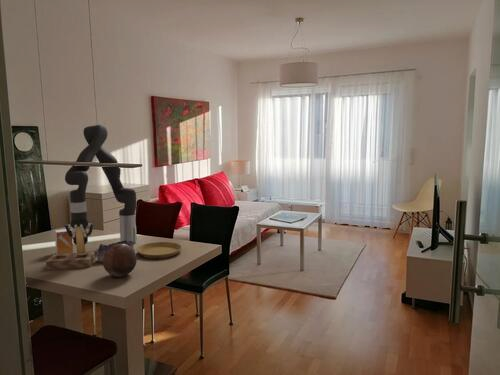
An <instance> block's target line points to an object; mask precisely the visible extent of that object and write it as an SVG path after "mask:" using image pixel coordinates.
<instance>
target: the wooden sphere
mask: <svg viewBox="0 0 500 375" xmlns="http://www.w3.org/2000/svg"><path fill="white" fill-rule="evenodd" d="M136 253H137V252H136V251H134V250H133V249H132V248H131V247H130V246H128V245H125V244H116V245H113V246H111V247H110V248H109V249H107V251H106V252H105V254H104V256H103V262H102V266H103V268H104V270H105V271H106V272H107V274H109V275H111V276H112V277H117V278H118V277H119V278H120V277H124V276H127V275H129V274H130V273H132V271H133V270H134V269H135V267H136V265H137V260H138V259H137V254H136Z"/></svg>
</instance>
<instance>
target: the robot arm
mask: <svg viewBox="0 0 500 375" xmlns="http://www.w3.org/2000/svg"><path fill="white" fill-rule="evenodd" d="M83 137H84V139H85V141H86V143H87V144H88V145H87V146H86V147H85V148H84V149H82V150H81V151H80V153H79V154H78V157H77V159H76V160H75V163H76V162H92V163H93V162H94V158H95V157H96V159H97V161H98V163H99V164H100V163H118V164H119V162H118V160H117V158H116V157H115V156H114V155H113V154H112V153H110V152H109V151H108V150H107V149H105V148H104V147H103V145H104V143H105V142H106V140H107V139H108V129H107V128H106V127H105V125H103V124H95V125H89V126H85V127H84V128H83ZM90 167H91V165H90V166H74V164H73V165H72V166H71V167H70V168H68V170H67V171H66V173H65V176H64V180H65V183H66V184H67V185H70V186H78V187H77V189H73V190H70V193H69V200H70V204H69V208H70V210H69V211H70V223H69V224H65V225H64V229H66V231H67V233H68V235H69V236H71V237H72V238H73V244H74V245H75V246H76V229H77V227H79V226H80V227H81V230H82V233H83V234H84V244H85V245H86V244H88V243H89V242H88V241H89V238H88V237H89V236H91V235H92V233H93V228H94V226H95V224H94V223H90V222H89V221H88V210H87V209H88V208H87V202H86V201H87V198H86V191H87V187H88V182H89V176H88V173H87V171H89V170H90ZM101 169H102V171H103V173H104V175H105V177H106V179H107V181H108V183H109V185H110V187H111V190H112V192H113V196H114V198H115V199H116V201H117V202H118V203H120V204H124V207H123V208H121V209H119V212H118V216H119V218H118V219H119V234H120V236H119V238H120V240H119V242H121V241H125V240H127V242H129V241H133V242H134V244H136V243H137V240H138V236H137V225H136V224H137V223H136V210H137V194H136V191H135V190H134V189H133V188H131V187H130V188H129V187H124V186H123V183H122V182H121V167H120V168H119V167H101ZM87 227H88V228H89V230H87ZM71 228H72V229H73V230H72V229H71ZM71 230H72V232H71Z"/></svg>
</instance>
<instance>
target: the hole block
mask: <svg viewBox="0 0 500 375" xmlns="http://www.w3.org/2000/svg"><path fill="white" fill-rule="evenodd" d="M95 254H96V253H95V252H94V251H93V252H85V253H84V254H77V252H73V253H69V254H57V253H53V255H51V256H50V257H49V258H48V259H47V260H46V261H45V264H46V265H45V266H46V270H62V269H80V268H81V269H82V268H90V267H91V266H92V264H93V263H94V261H95V259H96V258H95Z"/></svg>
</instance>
